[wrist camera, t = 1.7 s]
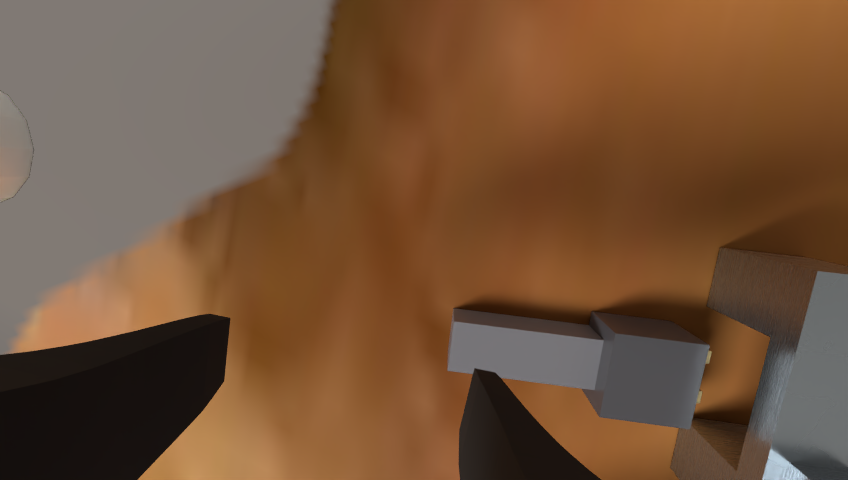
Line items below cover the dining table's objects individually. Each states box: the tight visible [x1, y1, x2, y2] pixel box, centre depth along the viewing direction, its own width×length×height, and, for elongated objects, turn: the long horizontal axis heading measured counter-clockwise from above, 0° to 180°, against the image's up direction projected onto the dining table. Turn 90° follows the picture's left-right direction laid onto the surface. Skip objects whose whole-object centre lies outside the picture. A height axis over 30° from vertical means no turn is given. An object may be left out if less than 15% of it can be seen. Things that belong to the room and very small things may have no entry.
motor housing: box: [670, 247, 848, 480], centre depth 17 cm, size 4×12×6 cm, turn 174°
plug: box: [448, 308, 712, 429], centre depth 19 cm, size 12×4×3 cm, turn 84°
